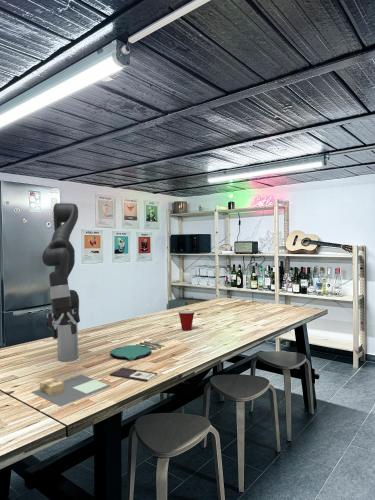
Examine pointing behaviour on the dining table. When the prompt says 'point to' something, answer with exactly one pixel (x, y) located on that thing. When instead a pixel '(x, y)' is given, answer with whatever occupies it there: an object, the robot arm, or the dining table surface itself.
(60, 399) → the rubber mat
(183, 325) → the plastic cup
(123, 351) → the table tennis paddle
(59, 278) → the robot arm
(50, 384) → the oak block
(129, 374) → the chocolate bar
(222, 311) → the dining table surface
